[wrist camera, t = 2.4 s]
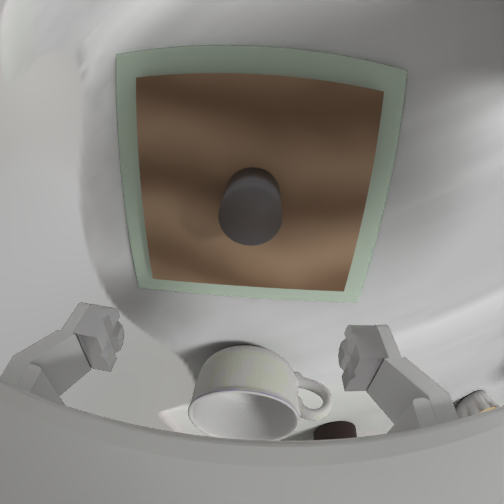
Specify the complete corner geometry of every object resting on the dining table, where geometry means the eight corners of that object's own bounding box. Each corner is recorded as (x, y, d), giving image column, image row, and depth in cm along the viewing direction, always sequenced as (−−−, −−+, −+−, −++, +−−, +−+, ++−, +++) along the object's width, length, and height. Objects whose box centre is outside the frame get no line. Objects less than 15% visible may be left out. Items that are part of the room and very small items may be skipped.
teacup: (201, 383, 35) (192, 439, 29) (196, 323, 30) (180, 390, 23) (313, 390, 35) (318, 446, 29) (335, 333, 30) (348, 399, 23)
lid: (141, 77, 17) (107, 79, 13) (378, 90, 17) (410, 96, 13) (156, 272, 26) (137, 310, 22) (341, 284, 26) (353, 325, 21)
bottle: (307, 437, 43) (311, 545, 26) (323, 419, 40) (332, 542, 23) (343, 437, 44) (353, 540, 27) (362, 420, 40) (377, 535, 23)
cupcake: (442, 418, 43) (455, 462, 34) (456, 394, 38) (473, 443, 29) (481, 404, 41) (495, 444, 33) (497, 378, 37) (517, 422, 28)
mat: (119, 54, 17) (116, 54, 16) (404, 70, 17) (407, 70, 16) (140, 284, 27) (138, 287, 27) (356, 298, 27) (357, 302, 27)
